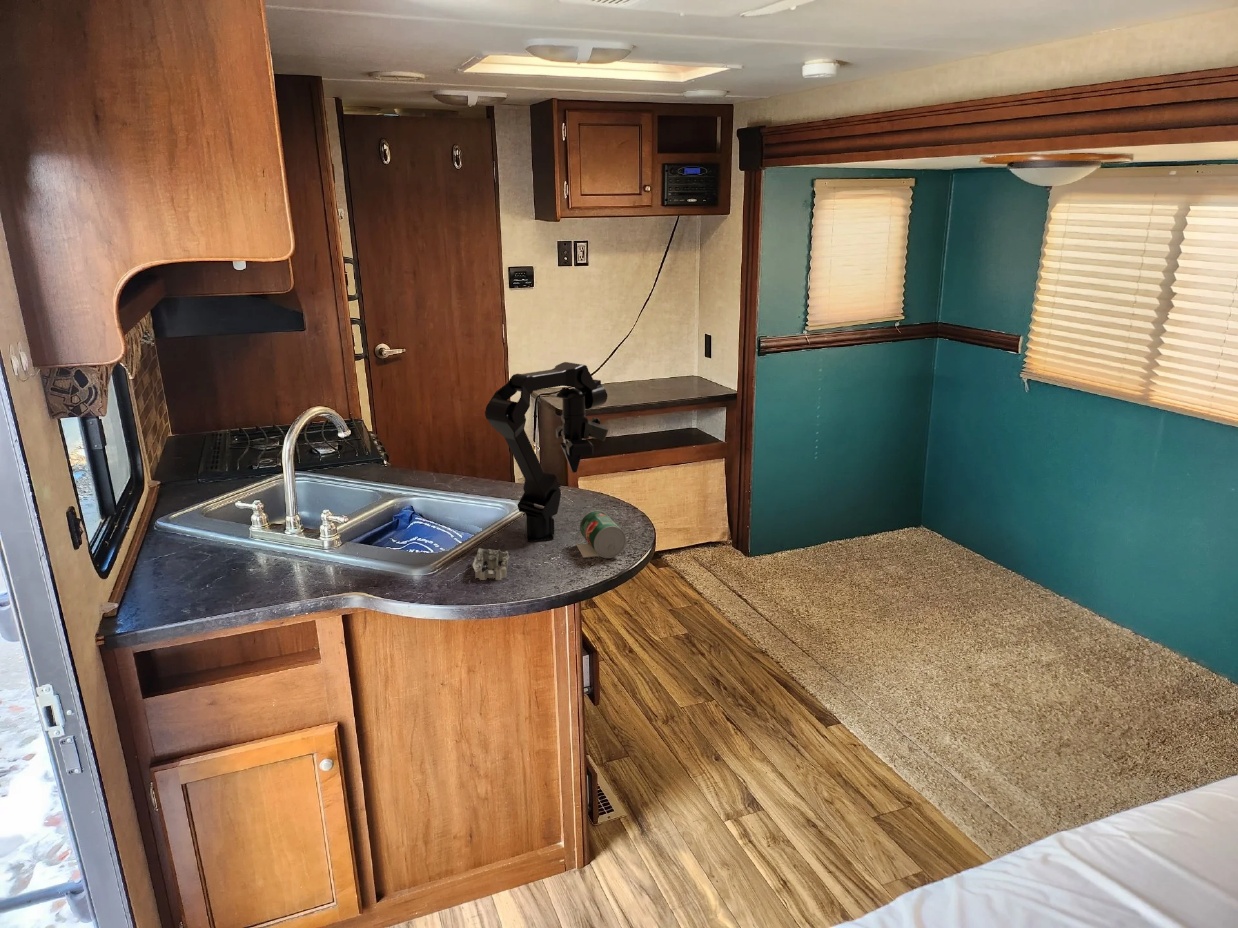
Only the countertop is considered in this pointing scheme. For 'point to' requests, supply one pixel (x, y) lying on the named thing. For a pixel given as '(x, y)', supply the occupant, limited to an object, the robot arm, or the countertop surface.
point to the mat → (587, 550)
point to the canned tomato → (602, 534)
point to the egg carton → (491, 564)
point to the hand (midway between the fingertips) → (574, 472)
